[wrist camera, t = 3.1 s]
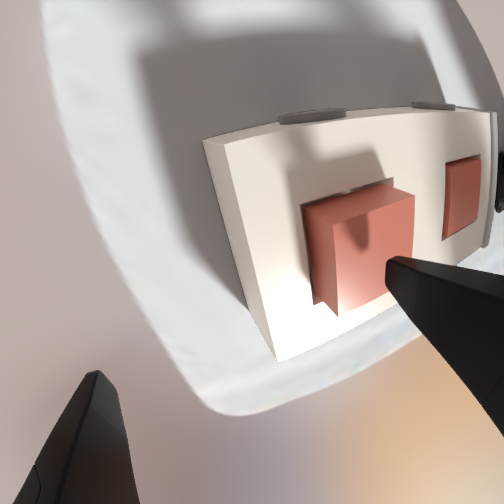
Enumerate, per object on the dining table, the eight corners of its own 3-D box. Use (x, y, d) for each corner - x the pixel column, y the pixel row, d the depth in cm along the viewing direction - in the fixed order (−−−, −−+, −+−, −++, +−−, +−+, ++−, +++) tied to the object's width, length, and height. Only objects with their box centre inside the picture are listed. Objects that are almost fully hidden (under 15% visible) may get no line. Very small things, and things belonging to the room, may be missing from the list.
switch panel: (446, 102, 14) (496, 109, 10) (447, 223, 18) (488, 244, 15) (200, 133, 11) (223, 134, 7) (249, 312, 15) (280, 367, 11)
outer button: (381, 183, 10) (415, 195, 8) (382, 261, 12) (409, 279, 10) (303, 207, 9) (332, 225, 8) (314, 291, 11) (338, 317, 10)
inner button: (457, 153, 13) (481, 160, 11) (455, 209, 14) (477, 218, 13) (424, 161, 12) (451, 168, 10) (423, 224, 14) (447, 236, 12)
